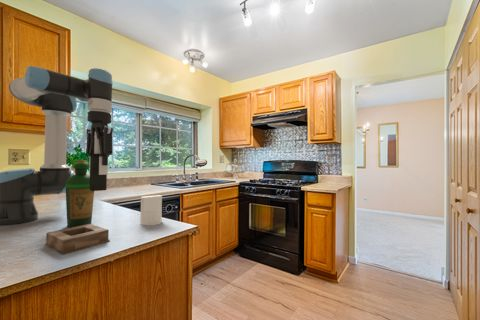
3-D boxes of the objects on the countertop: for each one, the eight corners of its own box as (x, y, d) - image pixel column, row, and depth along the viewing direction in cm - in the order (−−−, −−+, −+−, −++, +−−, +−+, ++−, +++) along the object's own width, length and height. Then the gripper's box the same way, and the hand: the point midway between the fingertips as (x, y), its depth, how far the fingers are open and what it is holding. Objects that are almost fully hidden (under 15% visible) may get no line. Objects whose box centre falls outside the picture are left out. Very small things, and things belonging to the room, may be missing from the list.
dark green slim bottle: (89, 189, 83) (90, 122, 84) (105, 188, 86) (106, 124, 87) (90, 191, 79) (92, 121, 79) (106, 190, 82) (108, 122, 83)
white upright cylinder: (156, 219, 108) (157, 194, 108) (164, 222, 102) (165, 196, 102) (137, 222, 102) (137, 196, 102) (145, 226, 95) (145, 198, 95)
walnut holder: (44, 245, 73) (45, 232, 73) (90, 234, 84) (90, 223, 84) (62, 254, 66) (62, 241, 66) (109, 241, 77) (109, 229, 77)
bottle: (78, 229, 89) (80, 160, 90) (57, 227, 91) (58, 159, 92) (100, 222, 100) (101, 160, 100) (80, 220, 102) (82, 159, 102)
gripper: (75, 112, 85) (74, 173, 84) (103, 107, 75) (101, 175, 75) (96, 116, 91) (95, 172, 91) (124, 111, 82) (123, 174, 81)
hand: (98, 174), depth 83 cm, fingers closed on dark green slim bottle, 6 cm apart
